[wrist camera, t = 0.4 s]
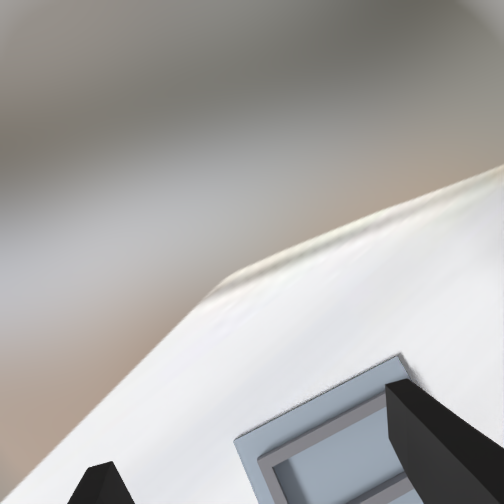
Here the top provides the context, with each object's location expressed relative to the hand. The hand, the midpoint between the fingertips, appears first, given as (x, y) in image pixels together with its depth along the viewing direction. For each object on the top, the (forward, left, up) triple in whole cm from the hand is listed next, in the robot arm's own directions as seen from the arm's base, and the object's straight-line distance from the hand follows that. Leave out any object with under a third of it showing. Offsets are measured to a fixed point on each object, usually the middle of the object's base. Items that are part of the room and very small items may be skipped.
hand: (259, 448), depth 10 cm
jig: (-8, -4, -29) cm, 30 cm away
